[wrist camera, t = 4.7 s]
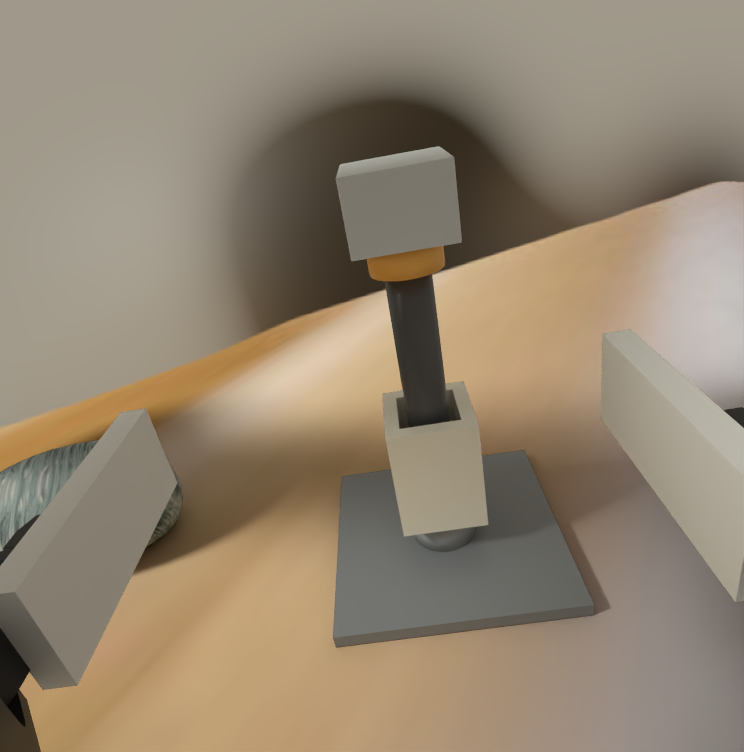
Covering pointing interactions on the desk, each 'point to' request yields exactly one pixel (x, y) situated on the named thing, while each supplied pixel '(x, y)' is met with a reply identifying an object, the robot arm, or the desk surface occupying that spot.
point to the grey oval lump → (55, 489)
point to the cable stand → (424, 407)
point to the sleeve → (436, 466)
